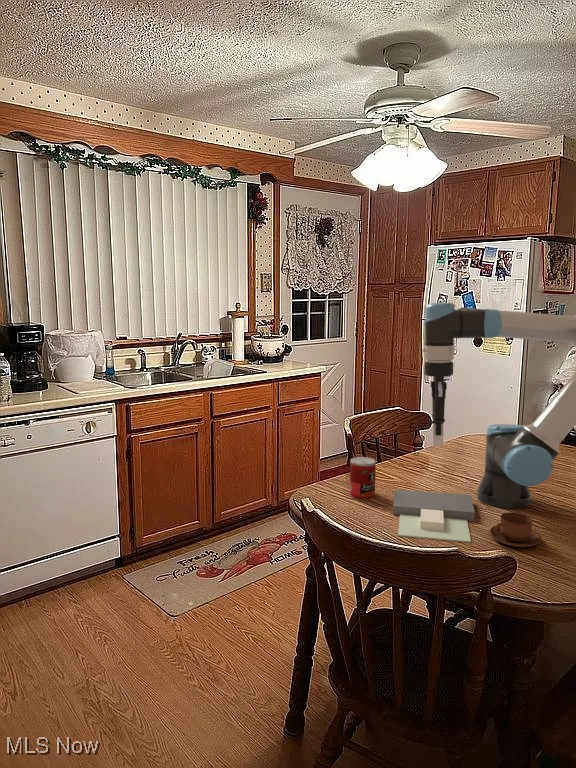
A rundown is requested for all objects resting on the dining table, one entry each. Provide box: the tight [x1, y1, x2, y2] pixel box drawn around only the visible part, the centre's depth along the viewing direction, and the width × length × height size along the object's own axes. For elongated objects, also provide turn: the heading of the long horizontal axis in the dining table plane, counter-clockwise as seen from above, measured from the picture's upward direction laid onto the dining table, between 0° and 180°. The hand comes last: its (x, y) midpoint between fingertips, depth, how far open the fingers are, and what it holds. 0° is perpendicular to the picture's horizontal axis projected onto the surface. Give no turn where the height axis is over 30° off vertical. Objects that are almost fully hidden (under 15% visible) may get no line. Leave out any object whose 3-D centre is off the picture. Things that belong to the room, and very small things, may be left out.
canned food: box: [349, 456, 377, 500], centre depth 178 cm, size 8×8×11 cm
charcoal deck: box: [392, 488, 476, 522], centre depth 167 cm, size 22×14×2 cm, turn 77°
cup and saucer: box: [489, 511, 542, 548], centre depth 146 cm, size 12×12×6 cm
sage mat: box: [397, 514, 472, 543], centre depth 154 cm, size 18×14×1 cm
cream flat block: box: [420, 509, 444, 530], centre depth 156 cm, size 9×6×2 cm, turn 166°
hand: (437, 445), depth 159 cm, fingers closed
